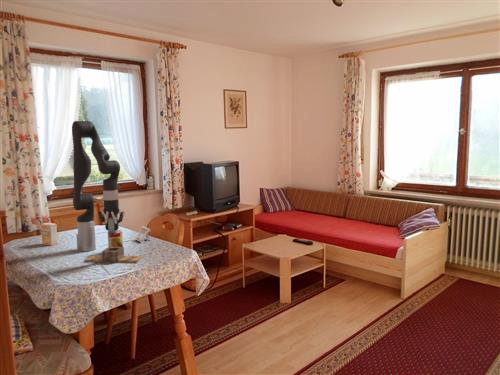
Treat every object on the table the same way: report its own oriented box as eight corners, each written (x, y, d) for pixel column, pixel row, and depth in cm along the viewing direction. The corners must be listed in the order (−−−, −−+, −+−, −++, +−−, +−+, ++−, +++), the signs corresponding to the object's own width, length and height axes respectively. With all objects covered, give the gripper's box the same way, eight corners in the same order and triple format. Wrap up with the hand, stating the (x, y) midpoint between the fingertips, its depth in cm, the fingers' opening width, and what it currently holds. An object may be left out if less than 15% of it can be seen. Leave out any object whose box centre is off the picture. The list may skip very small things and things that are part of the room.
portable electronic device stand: (134, 240, 249) (134, 227, 248) (146, 238, 254) (145, 226, 253) (141, 243, 243) (140, 230, 242) (152, 241, 248) (151, 228, 247)
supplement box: (41, 244, 241) (40, 223, 239) (48, 242, 245) (47, 222, 243) (51, 245, 238) (50, 225, 236) (58, 243, 242) (56, 223, 240)
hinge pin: (107, 235, 205) (106, 218, 204) (110, 233, 209) (109, 216, 208) (114, 235, 205) (113, 218, 204) (117, 233, 209) (116, 216, 208)
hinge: (84, 262, 206) (83, 251, 205) (91, 257, 214) (91, 246, 213) (136, 262, 204) (136, 251, 203) (142, 258, 212) (141, 247, 211)
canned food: (125, 251, 224) (124, 231, 223) (112, 254, 219) (111, 233, 217) (119, 249, 230) (118, 229, 228) (106, 251, 224) (105, 231, 223)
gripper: (94, 199, 201) (96, 231, 204) (121, 199, 200) (122, 232, 203) (100, 196, 209) (102, 228, 211) (126, 197, 208) (127, 228, 210)
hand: (112, 229), depth 207 cm, fingers closed on hinge pin, 4 cm apart
